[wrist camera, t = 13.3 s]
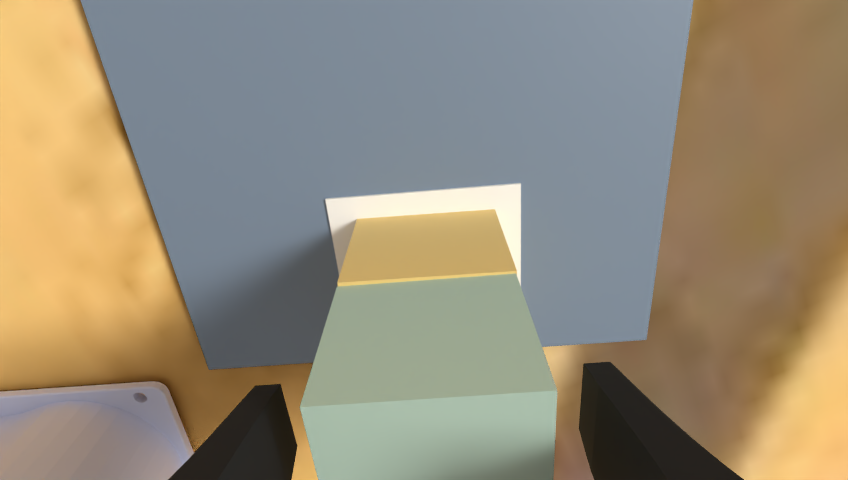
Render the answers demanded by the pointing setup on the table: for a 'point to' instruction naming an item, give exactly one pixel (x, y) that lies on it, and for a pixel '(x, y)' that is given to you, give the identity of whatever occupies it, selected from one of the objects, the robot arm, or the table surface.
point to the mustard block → (426, 248)
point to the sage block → (431, 384)
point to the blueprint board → (397, 148)
